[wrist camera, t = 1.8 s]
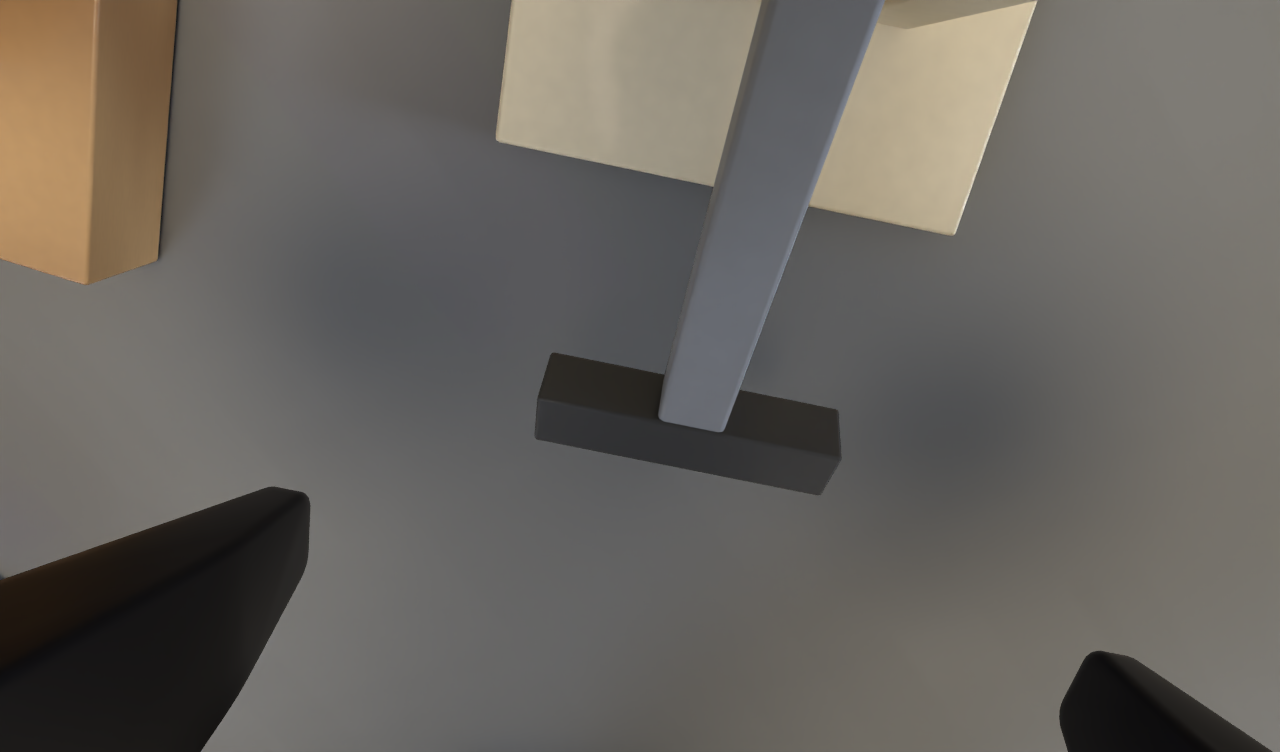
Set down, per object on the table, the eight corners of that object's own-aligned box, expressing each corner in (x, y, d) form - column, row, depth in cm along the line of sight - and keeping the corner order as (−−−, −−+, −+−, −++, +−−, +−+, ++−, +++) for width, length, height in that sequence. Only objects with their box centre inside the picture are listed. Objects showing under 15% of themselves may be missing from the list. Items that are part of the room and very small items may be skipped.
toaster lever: (818, 420, 14) (822, 530, 13) (554, 367, 14) (524, 470, 12) (1348, -619, 5) (1593, -707, 4) (672, -777, 5) (621, -937, 4)
